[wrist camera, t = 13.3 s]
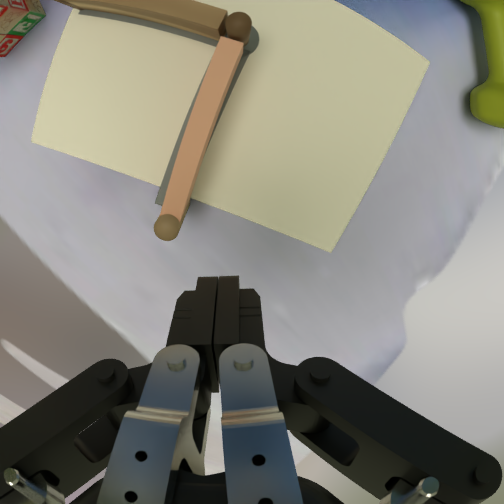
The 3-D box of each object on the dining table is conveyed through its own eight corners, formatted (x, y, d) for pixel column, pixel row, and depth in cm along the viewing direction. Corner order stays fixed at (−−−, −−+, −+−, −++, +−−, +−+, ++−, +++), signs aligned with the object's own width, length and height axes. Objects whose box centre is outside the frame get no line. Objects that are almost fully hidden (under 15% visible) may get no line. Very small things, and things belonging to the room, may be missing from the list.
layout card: (111, -60, 14) (110, -61, 14) (428, 62, 21) (430, 62, 21) (29, 156, 24) (27, 157, 24) (322, 264, 31) (323, 266, 30)
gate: (244, 54, 21) (246, 42, 16) (187, 213, 27) (175, 243, 22) (222, 47, 21) (218, 33, 16) (167, 207, 27) (151, 236, 22)
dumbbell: (504, 123, 24) (550, 138, 17) (455, 119, 24) (503, 133, 18) (487, -13, 16) (530, -21, 10) (432, -31, 16) (474, -49, 10)
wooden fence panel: (80, -8, 17) (47, -24, 11) (252, 33, 20) (256, 15, 15) (72, 9, 17) (36, -4, 12) (243, 52, 21) (244, 39, 16)
